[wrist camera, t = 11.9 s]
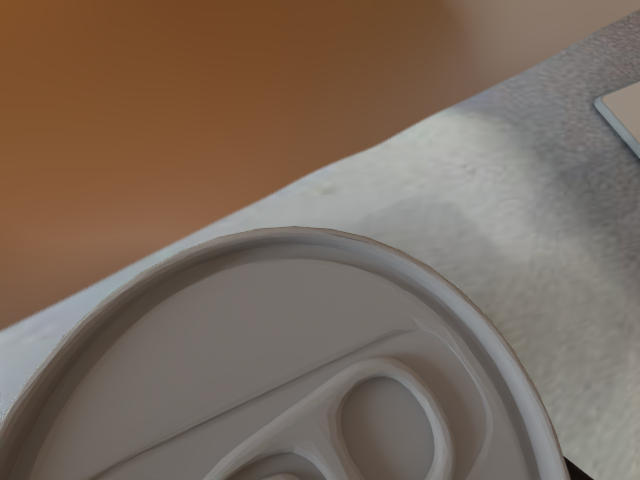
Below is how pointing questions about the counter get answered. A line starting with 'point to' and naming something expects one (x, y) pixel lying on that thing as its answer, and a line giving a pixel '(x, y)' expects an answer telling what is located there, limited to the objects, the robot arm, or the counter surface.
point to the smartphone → (623, 112)
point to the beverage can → (282, 374)
